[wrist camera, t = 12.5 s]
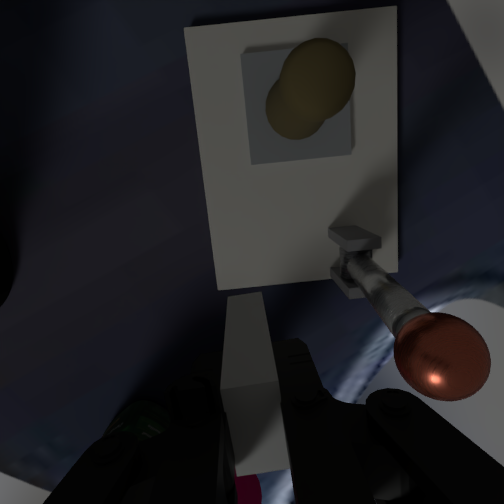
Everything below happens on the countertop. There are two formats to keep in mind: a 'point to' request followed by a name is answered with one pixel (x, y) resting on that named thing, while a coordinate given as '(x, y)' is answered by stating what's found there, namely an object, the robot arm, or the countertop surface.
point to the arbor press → (296, 152)
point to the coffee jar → (141, 420)
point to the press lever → (421, 334)
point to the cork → (310, 88)
